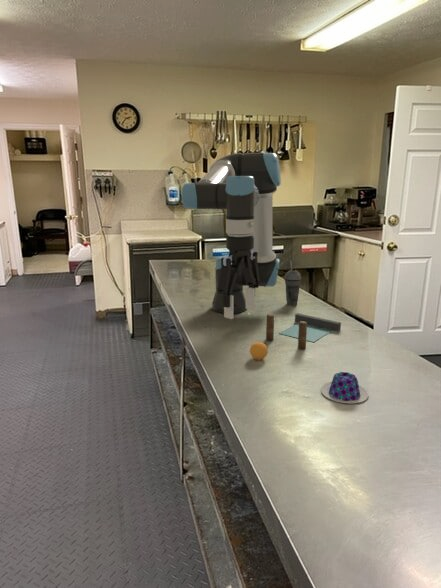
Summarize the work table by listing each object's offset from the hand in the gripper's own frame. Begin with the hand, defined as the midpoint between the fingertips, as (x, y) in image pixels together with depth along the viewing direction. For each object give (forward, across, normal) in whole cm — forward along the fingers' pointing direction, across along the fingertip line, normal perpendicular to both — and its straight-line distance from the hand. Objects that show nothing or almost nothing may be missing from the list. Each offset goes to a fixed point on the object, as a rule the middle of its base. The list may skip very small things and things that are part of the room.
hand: (239, 313), depth 123 cm
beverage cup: (+18, +68, +22) cm, 74 cm away
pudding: (+18, +6, -30) cm, 36 cm away
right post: (+18, +26, -6) cm, 32 cm away
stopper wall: (+18, +49, 0) cm, 52 cm away
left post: (+18, +26, +6) cm, 32 cm away
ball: (+15, +10, 0) cm, 18 cm away
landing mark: (+18, +40, 0) cm, 44 cm away
